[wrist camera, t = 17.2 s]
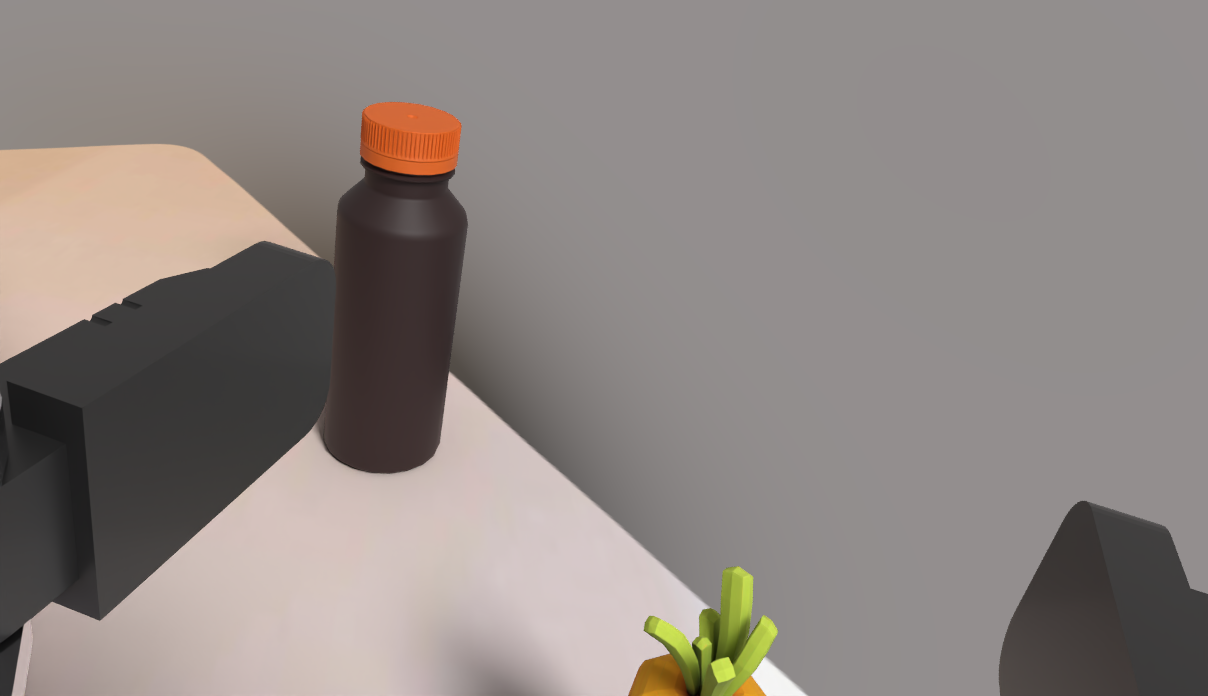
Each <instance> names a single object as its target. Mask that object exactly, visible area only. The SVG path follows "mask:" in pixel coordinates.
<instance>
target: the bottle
mask: <svg viewBox="0 0 1208 696" xmlns="http://www.w3.org/2000/svg"><path fill="white" fill-rule="evenodd" d="M460 133H461V123H460V122H459V121H458V119H456V118H455V117H454V116H453V115H451V114H448V113H447V112H445V111H441V110H439V109H436V108H433V107H429V106H424V105H419V104H412V103H402V102H385V103H377V104H373V105H370V106H368V107H366V108H365V109H364V111H363V112H362V126H361V146H360V155H361V162H360V163H361V165H362V166H363V167H364V168H365V177H364V178H363V179H362V180H361V181H360V182H358V183H357V184H356V185H355V186H353V187H352V188H351V189H350V190H349V191H347V192H346V193H345V194H344V195H343V196H342V197H341V198H340V200H339V203H338V210H337V225H336V241H335V259H334V271H335V276H336V295H335V311H334V328H333V344H332V360H331V377H330V387H329V391H328V395H327V399H326V409H325V426H324V440H325V443H326V445H327V447H328V449H329V451H330V452H331V453H332V454H333V455H334V456H335V457H336V458H337V459H338V460H340V461H341V462H343V463H345V464H347V465H349V466H352V467H354V468H356V469H360V470H364V471H368V472H373V473H395V472H401V471H407V470H410V469H412V468H414V467H417V466H419V465H422V464H424V463H425V462H426V461H427V460H429V459H430V458H431V457H432V456H433V455H434V453H435V451H436V449H437V447H438V445H439V443H440V436H441V428H442V421H443V413H444V405H445V397H446V390H447V382H448V374H449V366H450V359H451V350H452V343H453V335H454V327H455V320H456V312H457V304H458V296H459V288H460V281H461V273H462V265H463V257H464V250H465V242H466V234H467V226H468V223H467V216H466V212H465V210H464V208H463V207H462V205H461V204H460V203H459V202H458V200H457V199H456V198H455V197H454V195H453V194H452V193H451V192H450V190H449V189H448V181H449V179H451V178H452V177H453V175H454V174H455V167H456V166H457V159H458V150H459V142H460Z"/></svg>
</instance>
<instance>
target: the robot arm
mask: <svg viewBox="0 0 1208 696" xmlns="http://www.w3.org/2000/svg"><path fill="white" fill-rule="evenodd" d="M335 295H336V276H335V271H334V268H333V266H332V265H331V264H330V262H328V261H327V260H325V259H322V258H319V257H315V256H312V255H309V254H306V253H303V252H300V251H296V250H293V249H290V248H287V247H284V246H281V245H277V244H274V243H271V242H267V241H262V242H259V243H256V244H254V245H252V246H251V247H249V248H247V249H245V250H243V251H241V252H240V253H238V254H236V255H234V256H232V257H231V258H229V259H227V260H225V261H223V262H221V263H220V264H218V265H216V266H214V267H212V268H211V269H209V268H206V269H202V270H197V271H193V272H189V273H185V274H181V275H176V276H172V277H168V278H164V279H160V280H158V281H156V282H154V283H152V284H150V285H148V286H146V287H145V288H143V289H141V290H139V291H137V292H135V293H133V294H131V295H129V296H128V297H126V298H124V299H123V301H122V303H121V305H120V304H117V303H114V304H112V305H110V306H109V307H107V308H105V309H103V310H101V311H99V312H97V313H95V314H93V315H92V319H91V320H90V321H88V320H85V319H84V320H82V321H80V322H78V323H76V324H74V325H73V326H71V327H69V328H67V329H65V330H63V331H61V332H59V333H57V334H56V335H54V336H52V337H50V338H48V339H46V340H44V341H42V342H40V343H38V344H37V345H35V346H33V347H31V348H29V349H27V350H25V351H23V352H21V353H20V354H18V355H16V356H14V357H12V358H10V359H8V360H6V361H4V362H2V363H1V364H0V696H24V695H25V689H26V682H27V676H28V670H29V663H30V657H31V651H32V644H33V634H32V626H31V618H33V617H34V616H35V615H36V614H37V613H39V612H40V611H41V610H42V609H43V608H45V607H46V606H47V605H48V604H49V603H51V602H55V603H57V604H60V605H62V606H65V607H67V608H70V609H72V610H75V611H77V612H80V613H82V614H85V615H87V616H89V617H92V618H94V619H97V620H99V621H100V620H101V619H103V618H104V617H105V616H106V615H107V614H108V613H109V612H110V611H111V610H113V609H114V608H115V607H116V606H117V605H118V604H119V603H120V602H121V601H123V600H124V599H125V598H126V597H127V596H128V595H129V594H130V593H131V592H133V591H134V590H135V589H136V588H137V587H138V586H139V585H140V584H141V583H143V582H144V581H145V580H146V579H147V578H148V577H149V576H150V575H151V574H152V573H154V572H155V571H156V570H157V569H158V568H159V567H160V566H161V565H162V564H164V563H165V562H166V561H167V560H168V559H169V558H170V557H171V556H172V555H174V554H175V553H176V552H177V551H178V550H179V549H180V548H181V547H182V546H184V545H185V544H186V543H187V542H188V541H189V540H190V539H191V538H192V537H194V536H195V535H196V534H197V533H198V532H199V531H200V530H201V529H202V528H203V527H205V526H206V525H207V524H208V523H209V522H210V521H211V520H212V519H213V518H215V517H216V516H217V515H218V514H219V513H220V512H221V511H222V510H223V509H225V508H226V507H227V506H228V505H229V504H230V503H231V502H232V501H233V500H235V499H236V498H237V497H238V496H239V495H240V494H241V493H242V492H243V491H245V490H246V489H247V488H248V487H249V486H250V485H251V484H252V483H253V482H254V481H256V480H257V479H258V478H259V477H260V476H261V475H262V474H263V473H264V472H266V471H267V470H268V469H269V468H270V467H271V466H272V465H273V464H274V463H276V462H277V461H278V460H279V459H280V458H281V457H282V456H283V455H284V454H286V453H287V452H288V451H289V450H290V449H291V448H292V447H293V446H294V445H296V444H297V443H298V442H299V441H300V440H301V439H302V438H303V437H304V436H305V435H306V434H307V433H308V432H309V431H310V430H311V429H312V427H313V426H314V424H315V423H316V421H317V420H318V418H319V416H320V414H321V412H322V410H323V407H324V405H325V402H326V399H327V395H328V391H329V387H330V377H331V360H332V344H333V328H334V311H335ZM999 685H1000V696H1208V594H1206V593H1203V592H1199V591H1196V590H1193V589H1190V586H1189V583H1188V581H1187V578H1186V575H1185V572H1184V570H1183V567H1182V565H1181V562H1180V559H1179V556H1178V553H1177V551H1176V548H1175V545H1174V543H1173V540H1172V537H1171V535H1170V533H1169V531H1168V529H1167V528H1166V527H1164V526H1162V525H1160V524H1156V523H1154V522H1150V521H1147V520H1144V519H1140V518H1137V517H1135V516H1131V515H1128V514H1125V513H1122V512H1119V511H1115V510H1112V509H1109V508H1106V507H1103V506H1099V505H1096V504H1093V503H1090V502H1087V501H1080V502H1078V503H1077V504H1075V505H1074V506H1073V507H1072V508H1071V509H1070V511H1069V512H1068V514H1067V515H1066V517H1065V519H1064V520H1063V522H1062V524H1061V526H1060V528H1059V530H1058V532H1057V533H1056V535H1055V537H1054V539H1053V541H1052V543H1051V545H1050V547H1049V549H1048V550H1047V552H1046V554H1045V556H1044V558H1043V560H1042V562H1041V564H1040V565H1039V568H1038V569H1037V571H1036V573H1035V575H1034V577H1033V579H1032V581H1031V583H1030V584H1029V586H1028V588H1027V590H1026V592H1025V594H1024V596H1023V598H1022V600H1021V602H1020V603H1019V605H1018V607H1017V609H1016V611H1015V613H1014V615H1013V617H1012V619H1011V621H1010V624H1009V626H1008V629H1007V632H1006V636H1005V639H1004V642H1003V647H1002V651H1001V657H1000V664H999Z"/></svg>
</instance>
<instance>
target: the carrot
mask: <svg viewBox="0 0 1208 696" xmlns="http://www.w3.org/2000/svg"><path fill="white" fill-rule="evenodd" d="M752 599H753V576H751V575H750V574H749V573H747V572H746V571H744V570H743V569H741V568H740V567H739V566H738V567H730V568H726V569H725V570H723V576H722V591H721V614H719V613H718V612H717V611H715V610H714V609H711V608H709V609H704V610H702V612H701V614H700V616H699V637H696V639H695V640H694V641H693V642H692V647H691V645H690V643H689V642H688V640H687V638H686V637H685V635H684V634H683V633H682V632H680V631H679V630H678V629H676V628H675V627H674V626H672V625H671V624H669V623H667V622H665V621H663V620H661V619H659V618H657V617H655V616H649V617H648V619H647V620H646V622H645V626H644V631H645V632H647V633H648V634H649V635H651V636H652V637H654V638H655V639H656V640H658V641H659V642H661V643H662V644H663V645H664V646H665V647H666V648H667V650H668V651H669V652H670V654H667V655H663V656H660V657H656V658H652V659H649V660H645V661H644V662H643V663H642V665H641V666H640V667H639V670H638V672H637V674H636V677H635V679H634V682H633V685H632V687H631V690H630V692H629V695H628V696H766V695H765V694H764V692H763V691H762V690H761V688H760V687H759V686H758V684H757V683H756V682H755V680H754V679H753V678H752V676H751V675H752V674H753V672H754V671H755V670H756V669H757V667H758V666H759V664H760V663H761V661H762V660H763V658H764V657H765V655H766V654H767V652H768V650H769V649H770V646H771V645H772V643H773V641H774V639H775V637H776V635H777V632H778V630H777V628H776V626H775V625H774V623H773V622H772V620H770V619H769V618H767V617H766V616H765V615H764V616H762V618H761V619H760V621H759V622H758V624H757V625H756V627H755V628H754V630H753V631H752V633H751V634H750V636H749V638H748V634H749V628H750V620H751V610H752ZM747 638H748V639H747Z"/></svg>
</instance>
